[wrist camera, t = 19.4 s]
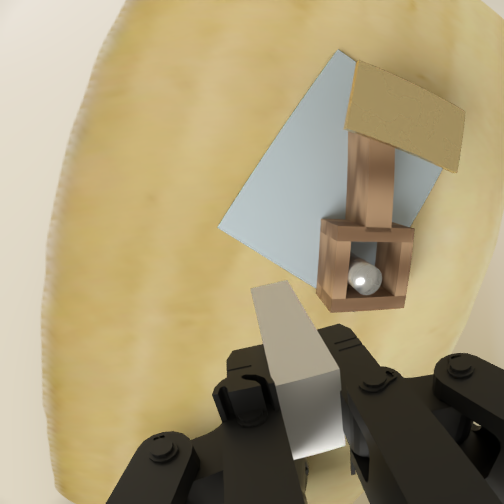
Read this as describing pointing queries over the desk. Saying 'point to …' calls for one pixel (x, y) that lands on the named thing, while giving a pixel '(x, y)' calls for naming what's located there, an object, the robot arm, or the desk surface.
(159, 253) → the desk surface
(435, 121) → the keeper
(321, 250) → the link
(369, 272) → the cylinder
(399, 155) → the board
